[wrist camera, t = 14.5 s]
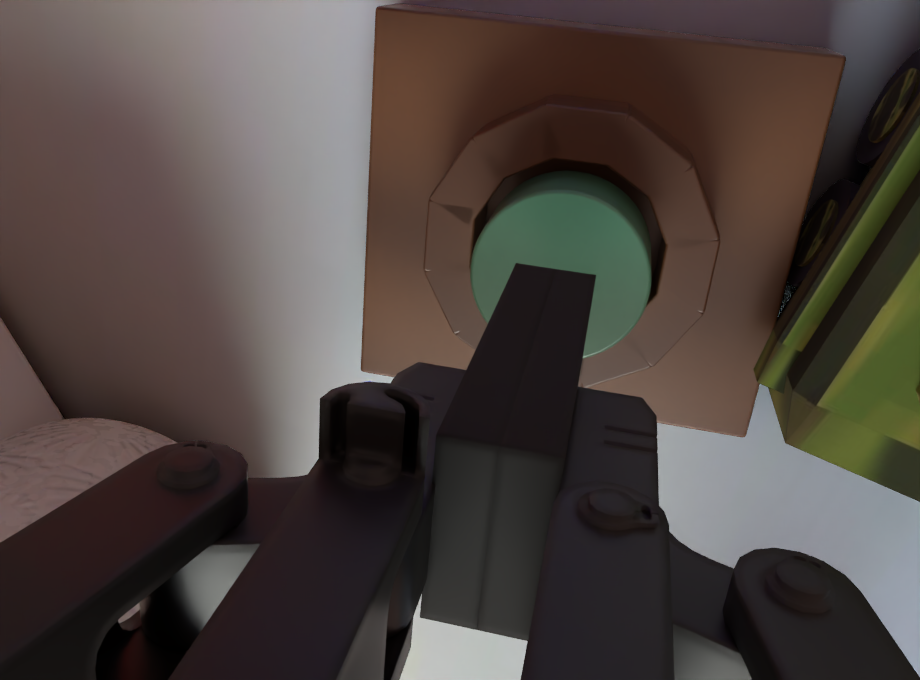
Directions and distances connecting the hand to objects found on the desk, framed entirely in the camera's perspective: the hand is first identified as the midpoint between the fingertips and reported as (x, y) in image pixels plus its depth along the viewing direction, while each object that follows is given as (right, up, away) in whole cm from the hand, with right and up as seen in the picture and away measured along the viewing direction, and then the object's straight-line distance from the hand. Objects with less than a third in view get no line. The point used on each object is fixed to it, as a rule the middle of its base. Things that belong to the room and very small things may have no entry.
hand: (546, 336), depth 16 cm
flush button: (+1, +2, +4) cm, 5 cm away
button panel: (+2, +4, +8) cm, 9 cm away
